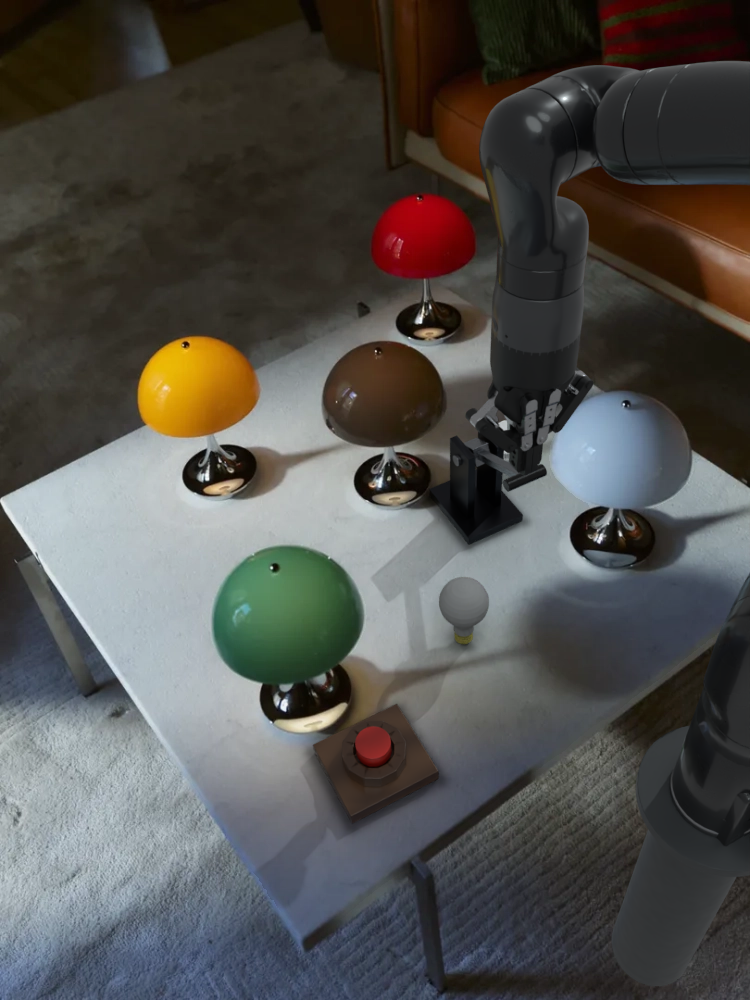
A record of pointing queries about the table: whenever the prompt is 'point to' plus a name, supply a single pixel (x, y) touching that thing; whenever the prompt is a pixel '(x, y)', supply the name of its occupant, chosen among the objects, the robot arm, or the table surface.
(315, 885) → the table surface
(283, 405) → the table surface
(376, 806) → the button block
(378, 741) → the button
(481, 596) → the light bulb
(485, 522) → the bracket
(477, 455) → the lever
